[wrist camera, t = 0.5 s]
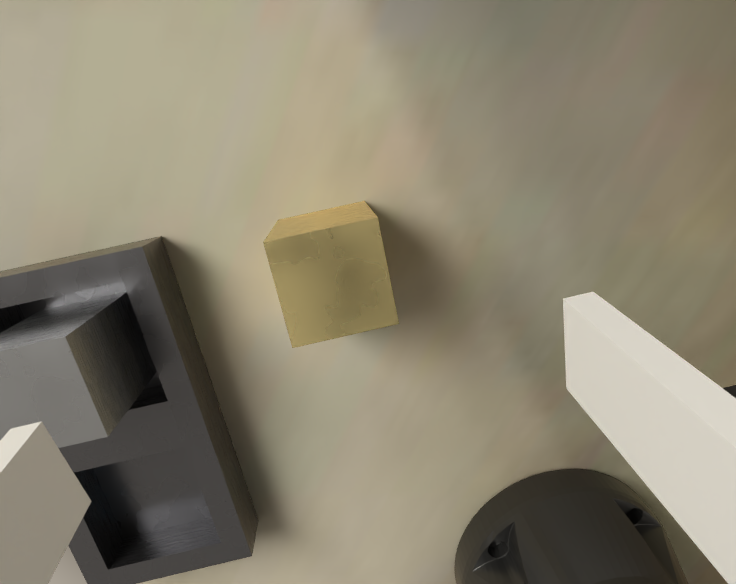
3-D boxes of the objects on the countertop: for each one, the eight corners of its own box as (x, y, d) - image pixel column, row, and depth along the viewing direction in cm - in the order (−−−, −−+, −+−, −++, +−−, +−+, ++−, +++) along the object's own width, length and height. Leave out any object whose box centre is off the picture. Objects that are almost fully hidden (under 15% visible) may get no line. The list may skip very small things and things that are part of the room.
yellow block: (381, 283, 29) (399, 323, 22) (299, 301, 29) (292, 348, 22) (364, 200, 27) (377, 217, 20) (278, 219, 27) (263, 242, 20)
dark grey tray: (258, 520, 33) (251, 556, 30) (113, 554, 32) (92, 593, 29) (161, 236, 27) (142, 246, 24) (-17, 275, 26) (-59, 290, 24)
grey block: (158, 369, 28) (108, 436, 22) (75, 388, 28) (-2, 462, 22) (129, 290, 27) (65, 336, 20) (41, 310, 27) (-54, 363, 20)
